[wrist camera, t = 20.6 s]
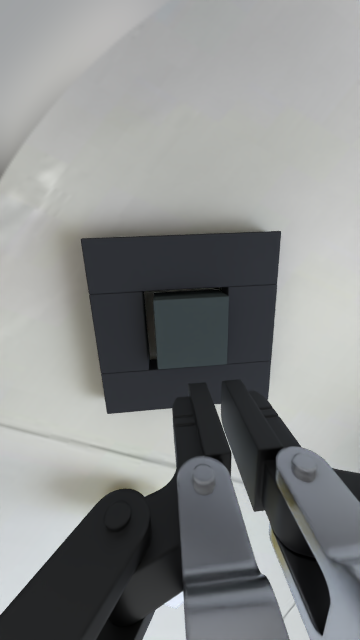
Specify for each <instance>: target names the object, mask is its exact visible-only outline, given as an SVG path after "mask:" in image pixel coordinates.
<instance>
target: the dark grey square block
mask: <svg viewBox="0 0 360 640" xmlns="http://www.w3.org/2000/svg"><path fill="white" fill-rule="evenodd" d="M228 306H229V296H227V295H226V294H224V293H223V292H221V291H220V290H199V291H179V292H159V293H154V296H153V308H154V322H155V337H156V351H157V366H158V369H170V368H184V367H197V366H211V365H224V364H227V346H228Z"/></svg>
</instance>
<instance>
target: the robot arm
mask: <svg viewBox="0 0 360 640" xmlns="http://www.w3.org/2000/svg"><path fill="white" fill-rule="evenodd" d="M172 411H173V429H174V444H175V455H176V467H177V469H176V472H175V474H174V476H173V478H172V479H171V481H170V482H169V483H168V484H167V485H166V486H165V487H163V488H162V489H160V490H158V491H156V492H154V493H152V494H150V495H148V496H146V497H144V496H143V495H142V494H141V493H139V492H138V491H135V490H132V489H119V490H116V491H113V492H111V493H109V494H108V495H106V496H105V497H103V498H102V499H101V500H100V501H99V502H98V503H97V504H96V505H95V506H94V507H93V509H92V510H91V511H90V512H89V513H88V514H87V516H86V517H85V518H84V519H83V520H82V521H81V522H80V524H79V525H78V526H77V527H76V528H75V529H74V531H73V532H72V533H71V534H70V535H69V536H68V537H67V539H66V540H65V541H64V542H63V543H62V544H61V546H60V547H59V548H58V549H57V550H56V551H55V553H54V554H53V555H52V556H51V557H50V558H49V559H48V561H47V562H46V563H45V564H44V565H43V566H42V568H41V569H40V570H39V571H38V572H37V573H36V575H35V576H34V577H33V578H32V579H31V580H30V581H29V583H28V584H27V585H26V586H25V587H24V588H23V590H22V591H21V592H20V593H19V594H18V595H17V596H16V598H15V599H14V600H13V601H12V602H11V603H10V605H9V606H8V607H7V608H6V609H5V610H4V612H3V613H2V614H1V615H0V640H142V639H143V637H144V635H145V632H146V630H147V628H148V626H149V624H150V621H151V619H152V617H153V615H154V612H155V610H156V609H157V608H159V607H160V606H162V605H163V604H165V603H166V602H168V601H169V600H171V599H172V598H174V597H175V596H177V595H178V594H180V593H181V592H183V596H184V613H185V630H186V640H290V639H289V636H288V633H287V630H286V627H285V624H284V621H283V618H282V615H281V611H280V608H279V605H278V602H277V599H276V597H275V594H274V591H273V589H272V587H271V584H270V582H269V580H268V579H267V577H266V576H265V575H263V574H261V573H260V571H259V569H258V566H257V564H256V561H255V557H254V554H253V551H252V547H251V544H250V541H249V537H248V534H247V530H246V527H245V524H244V520H243V517H242V514H241V510H240V507H239V504H238V500H237V497H236V493H235V490H234V487H233V483H232V480H231V450H232V453H233V455H234V458H235V461H236V464H237V466H238V469H239V472H240V475H241V477H242V480H243V483H244V486H245V488H246V491H247V494H248V496H249V499H250V502H251V505H252V507H253V510H254V512H256V511H264V510H265V511H266V514H267V516H268V519H269V521H270V524H269V536H270V540H271V543H272V546H273V548H274V551H275V553H276V556H277V558H278V561H279V563H280V566H281V568H282V571H283V573H284V576H285V578H286V581H287V583H288V586H289V588H290V591H291V593H292V596H293V598H294V600H295V603H296V605H297V608H298V610H299V613H300V615H301V618H302V620H303V623H304V625H305V628H306V630H307V633H308V636H309V638H310V640H360V473H354V472H349V471H343V470H338V469H334V468H331V467H330V465H329V464H328V463H327V462H326V461H325V460H324V459H323V458H322V457H321V456H319V455H318V454H316V453H314V452H313V451H310V450H308V449H305V448H302V447H301V446H300V445H299V443H298V442H297V440H296V439H295V438H294V436H293V435H292V433H291V432H290V431H289V429H288V428H287V427H286V425H285V424H284V422H283V421H282V420H281V418H280V417H278V414H277V413H276V411H275V410H274V409H273V408H272V406H271V404H270V403H269V402H268V400H267V399H266V398H265V397H264V396H262V395H261V394H259V393H258V392H257V391H248V390H247V388H246V386H245V385H244V383H243V382H242V380H240V379H238V380H226V381H222V386H221V418H222V424H223V428H224V431H225V433H224V431H223V428H222V425H221V422H220V420H219V417H218V414H217V411H216V408H215V406H214V403H213V400H212V397H211V395H210V392H209V389H208V386H207V384H206V382H202V383H190V384H188V396H187V397H177V398H176V400H175V402H174V404H173V406H172ZM225 434H226V436H227V439H228V442H229V444H230V447H231V450H230V447H229V445H228V442H227V439H226V436H225Z"/></svg>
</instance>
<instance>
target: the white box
mask: <svg viewBox="0 0 360 640" xmlns="http://www.w3.org/2000/svg"><path fill="white" fill-rule="evenodd" d="M183 602H184V596H183V592H181V593H180V594H178V595H177V596H175V597H174V598H172V599H171V600H169V601H168V602H166V603H165V604H163V605H166V606H169V607H172V608H175V609H177V608H178V607H179V606H180V605H181V604H182V603H183Z"/></svg>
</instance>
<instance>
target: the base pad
mask: <svg viewBox="0 0 360 640" xmlns="http://www.w3.org/2000/svg"><path fill="white" fill-rule="evenodd" d="M280 239H281V231H271V232H244V233H217V234H190V235H163V236H137V237H110V238H83V239H81V244H82V251H83V257H84V264H85V270H86V277H87V284H88V290H89V294H90V295H89V297H90V304H91V310H92V317H93V323H94V330H95V336H96V343H97V350H98V356H99V363H100V369H101V373H102V374H101V376H102V382H103V389H104V396H105V402H106V409H107V414H112V413H123V412H134V411H145V410H156V409H167V408H172V406H173V404H174V402H175V400H176V398H177V397H187V396H188V384H190V383H202V382H206V384H207V386H208V389H209V392H210V395H211V397H212V400H213V403H214V404H221V386H222V381H226V380H238V379H240V380H242V382H243V383H244V385H245V386H246V388H247V390H248V391H257V392H258V393H259V394H261V395H262V396H264V397H265V398H266V399H268V392H269V380H270V367H271V355H272V343H273V330H274V317H275V304H276V292H277V277H278V264H279V252H280ZM215 287H222V292H223V293H224V294H226V295H227V296H229V306H228V346H227V364H224V365H211V366H197V367H184V368H170V369H158V366H157V359H152V360H150V356H149V344H148V333H147V321H146V309H145V297H144V291H159V290H178V289H196V288H215Z"/></svg>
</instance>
